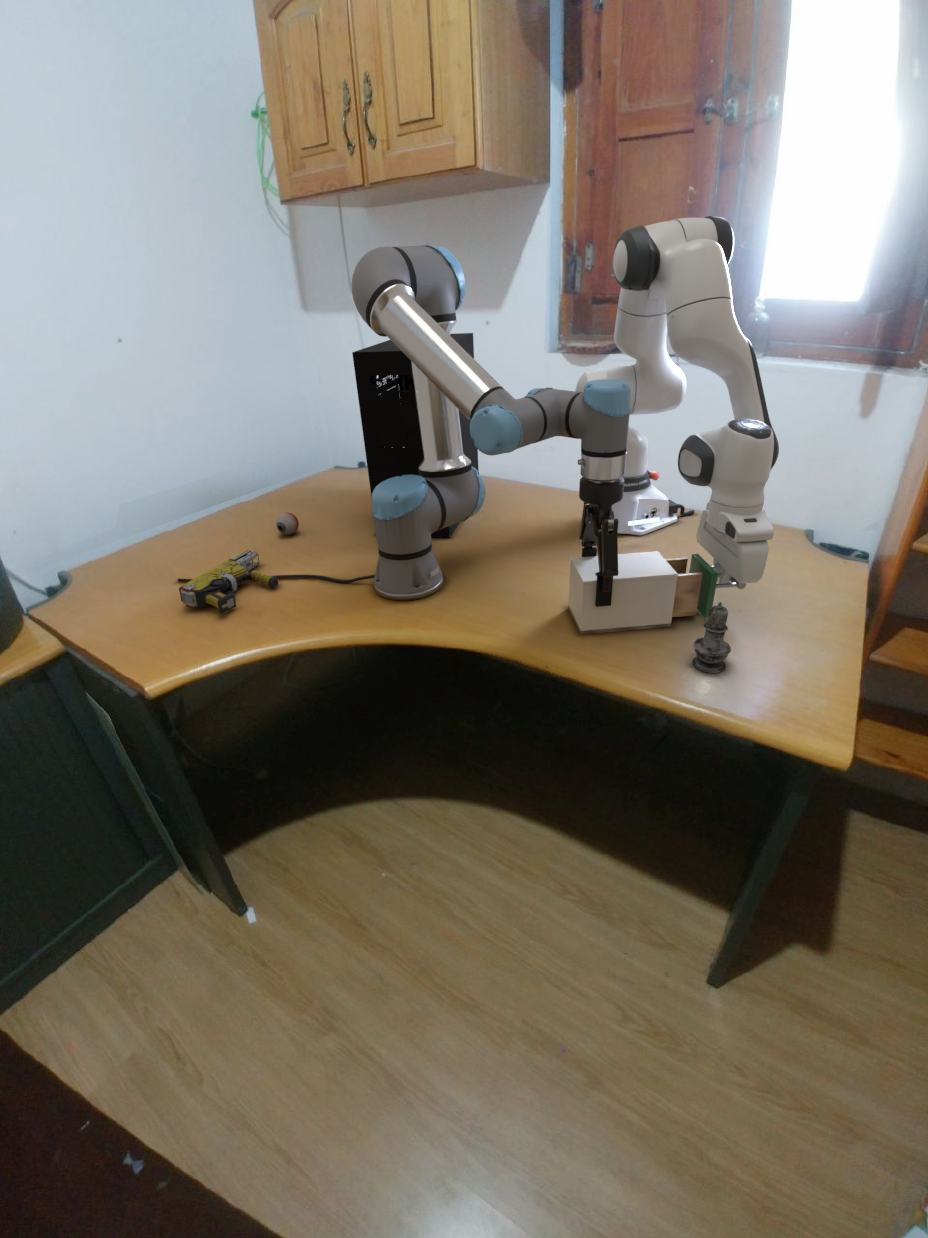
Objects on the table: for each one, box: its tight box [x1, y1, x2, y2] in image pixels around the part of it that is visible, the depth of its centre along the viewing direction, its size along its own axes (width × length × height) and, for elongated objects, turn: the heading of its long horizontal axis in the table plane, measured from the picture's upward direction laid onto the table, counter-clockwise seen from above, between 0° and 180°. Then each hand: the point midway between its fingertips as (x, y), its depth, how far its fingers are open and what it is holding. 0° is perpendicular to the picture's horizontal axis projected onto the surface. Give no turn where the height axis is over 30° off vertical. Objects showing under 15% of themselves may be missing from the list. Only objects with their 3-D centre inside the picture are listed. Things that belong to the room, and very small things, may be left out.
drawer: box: [664, 553, 747, 619], centre depth 115 cm, size 22×9×9 cm, turn 94°
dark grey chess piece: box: [692, 601, 732, 674], centre depth 99 cm, size 6×6×12 cm
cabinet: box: [567, 550, 678, 635], centre depth 115 cm, size 17×10×11 cm, turn 94°
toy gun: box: [178, 549, 279, 615], centre depth 136 cm, size 5×24×15 cm
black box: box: [351, 332, 480, 539], centre depth 164 cm, size 38×20×45 cm, turn 167°
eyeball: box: [275, 511, 300, 536], centre depth 163 cm, size 6×6×6 cm
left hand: (595, 591), depth 114 cm, fingers closed on cabinet, 10 cm apart
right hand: (721, 583), depth 116 cm, fingers closed, pressing on drawer
